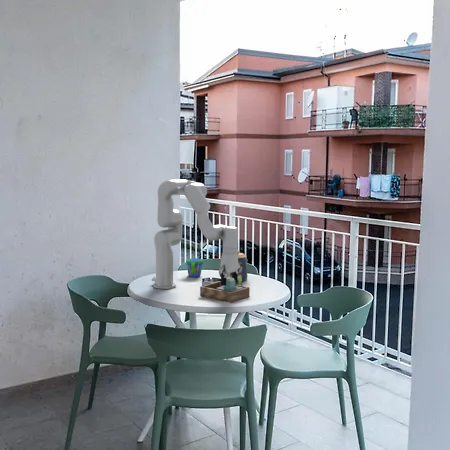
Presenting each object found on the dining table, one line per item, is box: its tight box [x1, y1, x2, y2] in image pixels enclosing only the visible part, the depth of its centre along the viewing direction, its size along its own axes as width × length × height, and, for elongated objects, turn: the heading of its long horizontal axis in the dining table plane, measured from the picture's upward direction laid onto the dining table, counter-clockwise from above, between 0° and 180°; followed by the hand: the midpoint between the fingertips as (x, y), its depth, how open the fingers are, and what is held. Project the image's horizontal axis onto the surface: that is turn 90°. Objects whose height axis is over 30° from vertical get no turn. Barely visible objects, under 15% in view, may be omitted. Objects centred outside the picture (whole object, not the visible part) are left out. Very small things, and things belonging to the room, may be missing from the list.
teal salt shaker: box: [224, 277, 235, 290], centre depth 264 cm, size 4×4×9 cm
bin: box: [199, 280, 250, 304], centre depth 266 cm, size 20×16×5 cm
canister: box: [237, 250, 249, 282], centre depth 304 cm, size 13×13×18 cm
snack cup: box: [185, 257, 204, 278], centre depth 311 cm, size 16×10×10 cm
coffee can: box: [224, 262, 243, 286], centre depth 284 cm, size 10×10×14 cm
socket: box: [216, 286, 243, 292], centre depth 264 cm, size 10×10×4 cm
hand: (229, 283), depth 264 cm, fingers open, 9 cm apart
